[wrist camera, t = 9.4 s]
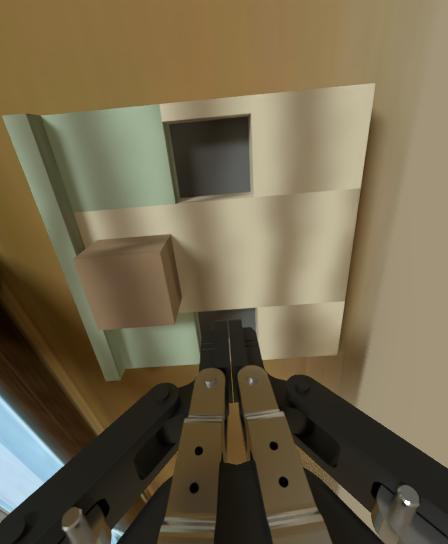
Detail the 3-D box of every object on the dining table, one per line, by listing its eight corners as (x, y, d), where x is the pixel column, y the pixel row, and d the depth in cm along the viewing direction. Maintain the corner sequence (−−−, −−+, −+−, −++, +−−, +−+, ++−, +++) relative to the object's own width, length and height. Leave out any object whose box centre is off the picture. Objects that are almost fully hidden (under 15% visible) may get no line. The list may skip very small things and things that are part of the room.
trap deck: (354, 91, 20) (388, 78, 15) (326, 335, 30) (343, 366, 26) (45, 121, 20) (2, 115, 16) (121, 349, 30) (105, 381, 26)
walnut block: (170, 233, 21) (160, 252, 18) (182, 297, 24) (174, 324, 20) (97, 240, 21) (72, 259, 18) (116, 302, 24) (98, 330, 20)
